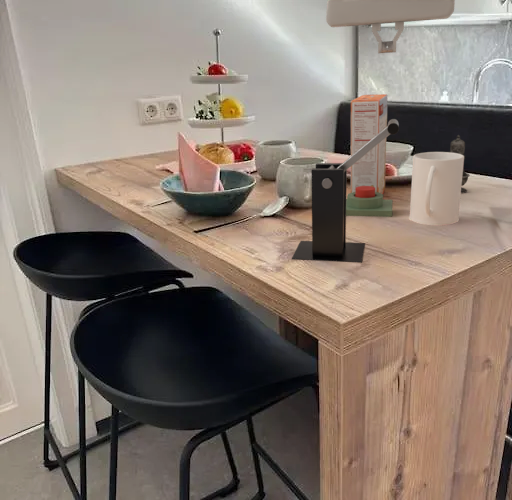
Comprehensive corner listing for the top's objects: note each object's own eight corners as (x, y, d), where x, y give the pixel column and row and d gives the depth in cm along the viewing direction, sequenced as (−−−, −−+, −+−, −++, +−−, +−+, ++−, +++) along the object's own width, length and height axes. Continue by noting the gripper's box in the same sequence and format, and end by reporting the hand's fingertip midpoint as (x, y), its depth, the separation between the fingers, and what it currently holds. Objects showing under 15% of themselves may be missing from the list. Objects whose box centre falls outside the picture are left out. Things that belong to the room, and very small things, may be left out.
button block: (391, 210, 97) (392, 190, 96) (391, 222, 90) (392, 201, 88) (340, 209, 100) (340, 189, 98) (335, 221, 92) (336, 200, 91)
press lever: (403, 127, 68) (391, 114, 68) (403, 132, 64) (391, 117, 64) (329, 187, 74) (318, 175, 74) (325, 195, 69) (314, 182, 69)
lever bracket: (364, 250, 77) (367, 161, 73) (361, 269, 70) (364, 172, 65) (300, 247, 80) (299, 161, 75) (291, 266, 73) (289, 172, 68)
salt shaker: (441, 187, 113) (445, 133, 109) (469, 188, 110) (474, 133, 106) (437, 193, 108) (442, 136, 104) (467, 194, 106) (472, 137, 101)
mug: (446, 240, 80) (453, 165, 76) (394, 232, 84) (398, 162, 80) (464, 220, 89) (471, 152, 85) (416, 215, 93) (420, 150, 89)
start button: (375, 194, 95) (375, 185, 94) (374, 199, 91) (374, 190, 91) (355, 194, 96) (356, 185, 95) (354, 199, 92) (354, 190, 92)
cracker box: (358, 190, 114) (360, 94, 107) (385, 191, 112) (389, 93, 105) (348, 206, 101) (349, 99, 94) (378, 207, 99) (382, 98, 92)
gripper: (322, -37, 79) (322, 56, 84) (460, -52, 74) (452, 48, 79) (326, -31, 85) (327, 56, 90) (455, -44, 80) (448, 49, 85)
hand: (387, 52), depth 84 cm, fingers closed
